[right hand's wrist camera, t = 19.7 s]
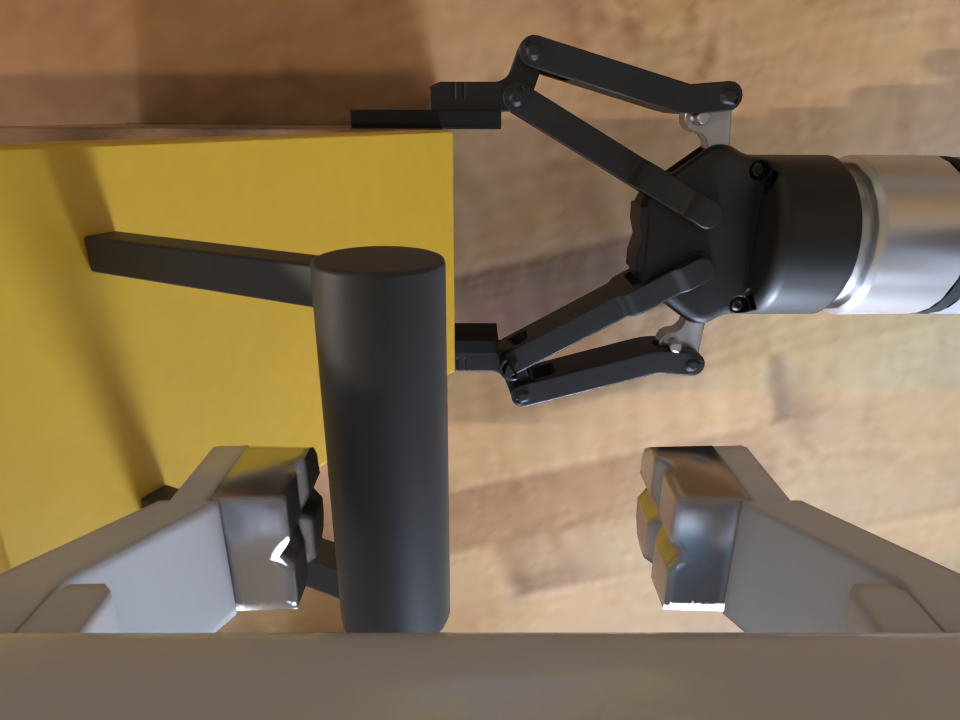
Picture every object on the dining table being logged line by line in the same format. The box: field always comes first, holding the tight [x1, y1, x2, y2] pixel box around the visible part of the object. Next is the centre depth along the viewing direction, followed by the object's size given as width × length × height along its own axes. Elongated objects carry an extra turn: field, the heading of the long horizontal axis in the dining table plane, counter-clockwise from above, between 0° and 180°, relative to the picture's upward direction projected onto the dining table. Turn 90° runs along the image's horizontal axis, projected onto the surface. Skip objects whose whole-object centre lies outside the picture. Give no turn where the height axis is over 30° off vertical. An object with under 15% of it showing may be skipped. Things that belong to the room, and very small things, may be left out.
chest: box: [0, 123, 447, 143], centre depth 32 cm, size 17×10×11 cm, turn 90°
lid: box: [0, 130, 455, 633], centre depth 17 cm, size 18×10×9 cm
